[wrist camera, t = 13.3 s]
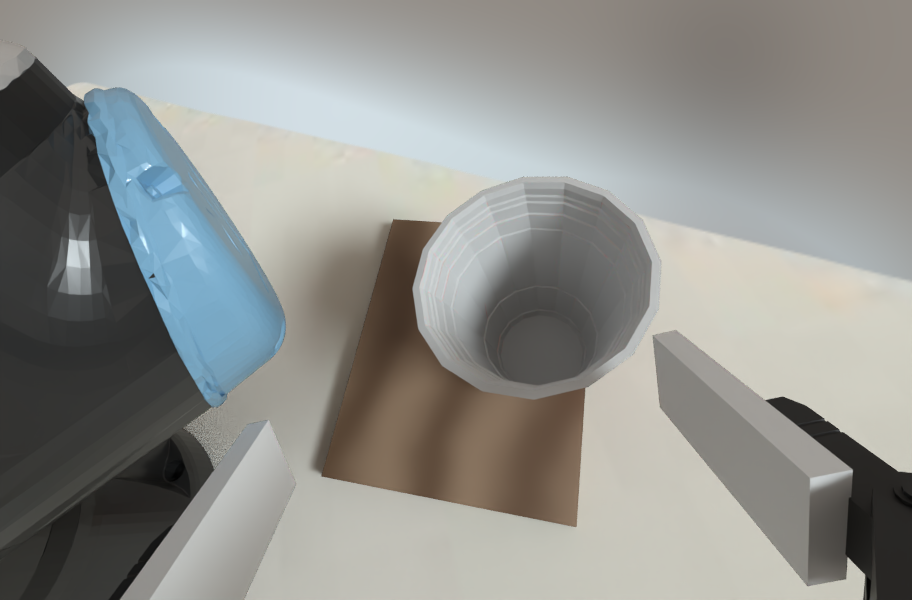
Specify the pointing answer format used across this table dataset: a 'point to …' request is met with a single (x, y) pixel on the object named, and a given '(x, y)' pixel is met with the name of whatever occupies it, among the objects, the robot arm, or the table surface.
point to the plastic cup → (537, 287)
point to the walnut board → (447, 415)
